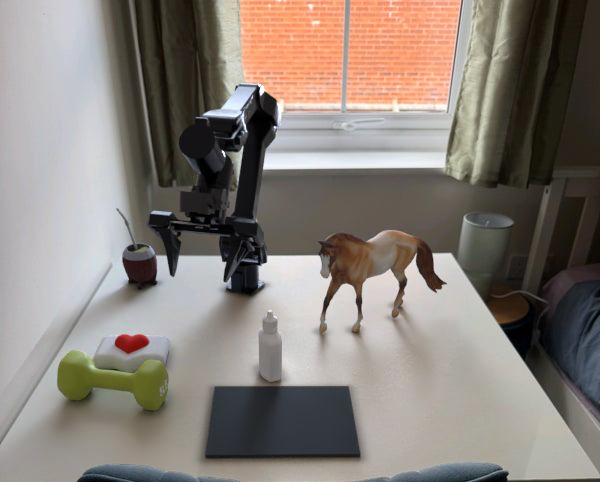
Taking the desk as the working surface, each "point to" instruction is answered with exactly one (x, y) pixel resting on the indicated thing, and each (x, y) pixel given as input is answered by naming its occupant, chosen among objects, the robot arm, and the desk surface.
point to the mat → (282, 422)
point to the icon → (130, 351)
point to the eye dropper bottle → (270, 349)
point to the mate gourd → (139, 261)
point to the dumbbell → (112, 380)
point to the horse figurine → (373, 265)
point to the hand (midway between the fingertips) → (198, 279)
